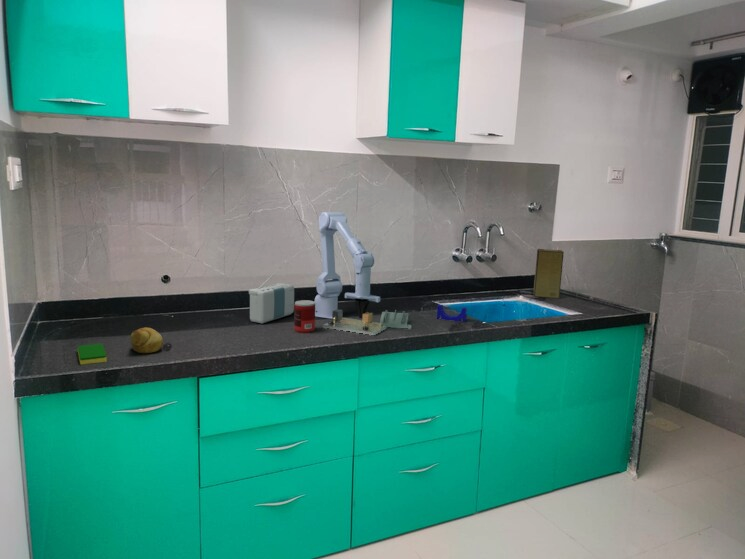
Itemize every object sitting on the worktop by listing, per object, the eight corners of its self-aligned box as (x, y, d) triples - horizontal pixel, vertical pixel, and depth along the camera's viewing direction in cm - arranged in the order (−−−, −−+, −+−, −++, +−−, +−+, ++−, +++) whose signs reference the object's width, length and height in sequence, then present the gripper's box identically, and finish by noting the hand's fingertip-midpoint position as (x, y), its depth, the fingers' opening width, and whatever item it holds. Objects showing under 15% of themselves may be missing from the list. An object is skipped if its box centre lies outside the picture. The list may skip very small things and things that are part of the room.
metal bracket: (378, 306, 233) (413, 309, 231) (378, 318, 235) (413, 321, 233) (373, 323, 220) (410, 326, 218) (373, 336, 222) (410, 339, 220)
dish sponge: (80, 366, 164) (79, 358, 164) (77, 353, 176) (77, 345, 176) (106, 363, 168) (106, 355, 168) (102, 350, 180) (102, 343, 179)
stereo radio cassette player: (263, 325, 217) (263, 274, 213) (246, 322, 221) (246, 272, 217) (294, 315, 235) (295, 268, 232) (279, 312, 239) (279, 266, 235)
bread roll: (130, 345, 185) (129, 321, 184) (161, 342, 189) (160, 320, 188) (131, 356, 174) (130, 331, 172) (164, 353, 178) (163, 329, 176)
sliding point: (361, 325, 216) (361, 314, 215) (366, 322, 220) (366, 312, 219) (367, 326, 215) (367, 315, 214) (372, 323, 219) (372, 312, 218)
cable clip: (466, 320, 238) (467, 306, 237) (464, 322, 234) (465, 308, 233) (439, 317, 242) (439, 303, 241) (436, 319, 238) (437, 305, 237)
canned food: (318, 329, 214) (318, 301, 212) (309, 334, 207) (309, 305, 205) (300, 326, 216) (300, 299, 215) (290, 331, 209) (291, 303, 207)
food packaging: (558, 295, 302) (562, 249, 298) (559, 298, 293) (564, 251, 289) (532, 293, 305) (536, 248, 301) (533, 296, 296) (537, 250, 292)
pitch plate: (322, 327, 216) (322, 314, 215) (336, 321, 227) (337, 308, 226) (374, 335, 208) (374, 321, 207) (386, 328, 219) (387, 315, 218)
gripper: (341, 283, 215) (340, 317, 218) (375, 287, 210) (374, 322, 212) (349, 280, 222) (348, 313, 224) (383, 284, 216) (381, 318, 218)
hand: (361, 317), depth 218 cm, fingers closed
